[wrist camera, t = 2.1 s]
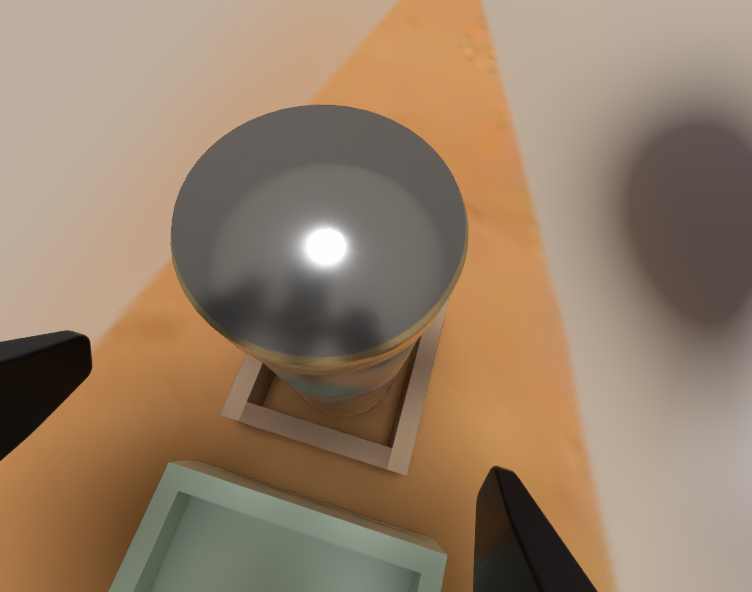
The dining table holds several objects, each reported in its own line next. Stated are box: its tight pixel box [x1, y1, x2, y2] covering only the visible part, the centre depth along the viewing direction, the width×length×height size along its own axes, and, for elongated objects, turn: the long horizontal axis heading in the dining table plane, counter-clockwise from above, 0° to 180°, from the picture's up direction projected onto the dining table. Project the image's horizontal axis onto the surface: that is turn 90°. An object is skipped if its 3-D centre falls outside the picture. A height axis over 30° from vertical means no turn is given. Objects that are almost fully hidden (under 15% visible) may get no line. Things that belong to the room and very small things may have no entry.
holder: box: [220, 298, 449, 476], centre depth 17 cm, size 8×8×2 cm
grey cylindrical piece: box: [171, 105, 468, 417], centre depth 12 cm, size 5×5×13 cm
